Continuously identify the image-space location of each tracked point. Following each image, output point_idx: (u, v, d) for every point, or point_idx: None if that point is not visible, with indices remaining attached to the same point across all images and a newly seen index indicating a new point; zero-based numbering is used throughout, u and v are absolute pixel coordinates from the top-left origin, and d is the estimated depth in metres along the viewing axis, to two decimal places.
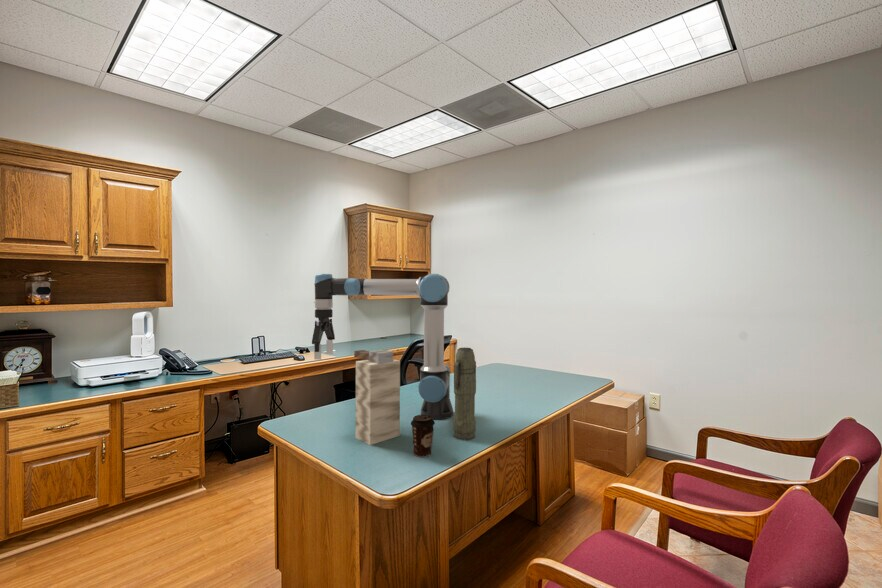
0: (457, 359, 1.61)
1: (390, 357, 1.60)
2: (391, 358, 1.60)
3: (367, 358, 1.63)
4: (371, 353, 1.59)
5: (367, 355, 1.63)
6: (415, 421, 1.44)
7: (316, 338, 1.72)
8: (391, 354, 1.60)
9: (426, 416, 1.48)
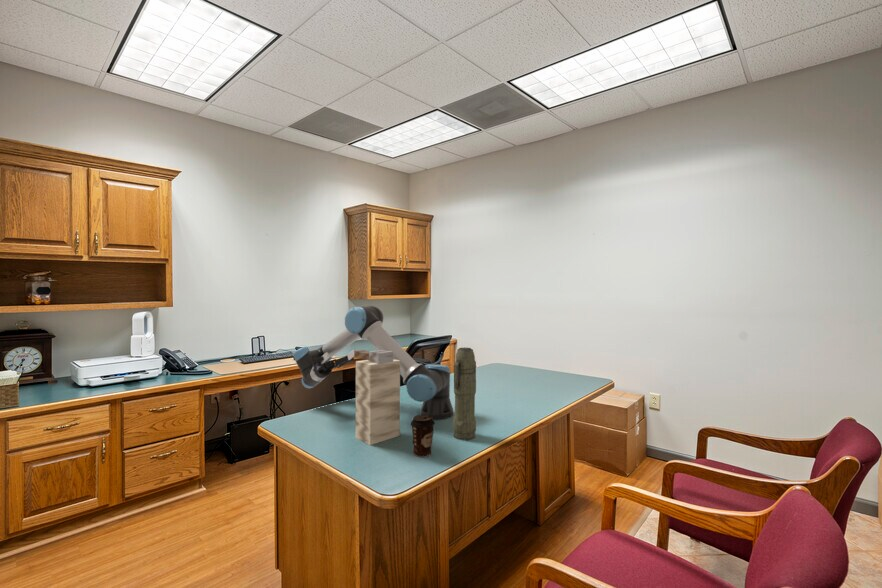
0: (457, 359, 1.61)
1: (390, 357, 1.60)
2: (391, 358, 1.60)
3: (367, 358, 1.63)
4: (371, 353, 1.59)
5: (367, 355, 1.63)
6: (415, 421, 1.43)
7: (312, 362, 1.80)
8: (391, 354, 1.60)
9: (426, 416, 1.48)
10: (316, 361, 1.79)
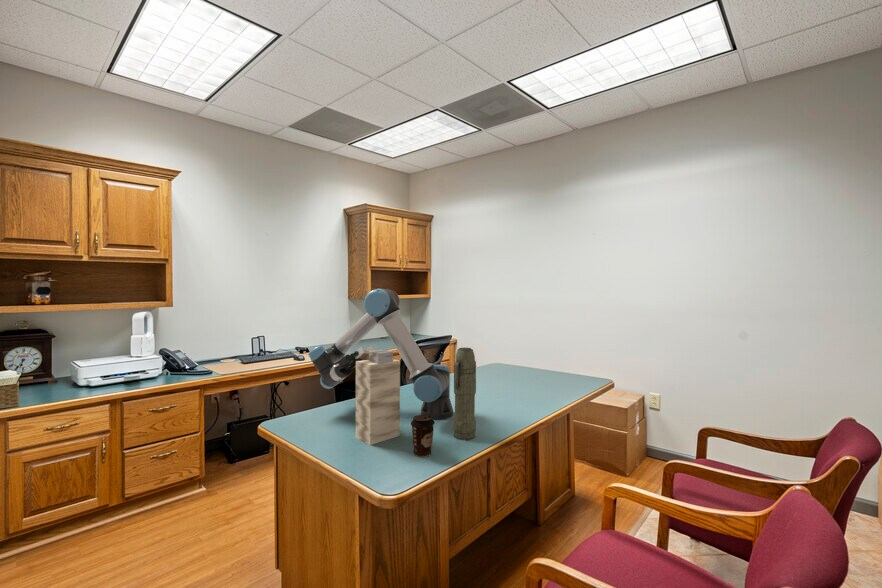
0: (457, 359, 1.61)
1: (390, 357, 1.60)
2: (391, 358, 1.60)
3: (367, 358, 1.63)
4: (371, 353, 1.59)
5: (367, 355, 1.63)
6: (415, 421, 1.43)
7: (345, 357, 1.68)
8: (391, 354, 1.60)
9: (426, 416, 1.48)
10: (350, 356, 1.68)
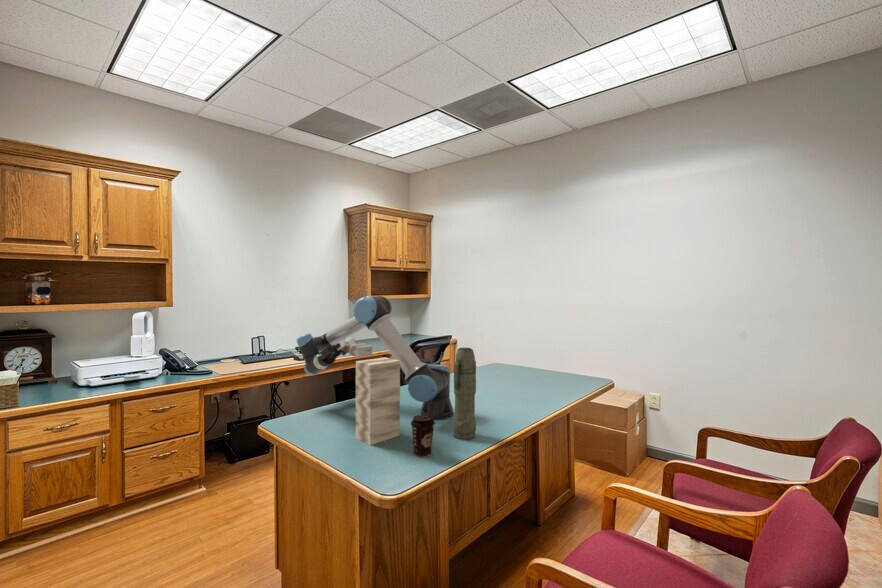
0: (457, 359, 1.61)
1: (369, 351, 1.69)
2: (370, 352, 1.69)
3: (348, 350, 1.73)
4: (351, 346, 1.68)
5: (348, 348, 1.73)
6: (415, 421, 1.43)
7: (327, 348, 1.78)
8: (370, 348, 1.69)
9: (426, 416, 1.48)
10: (332, 347, 1.77)
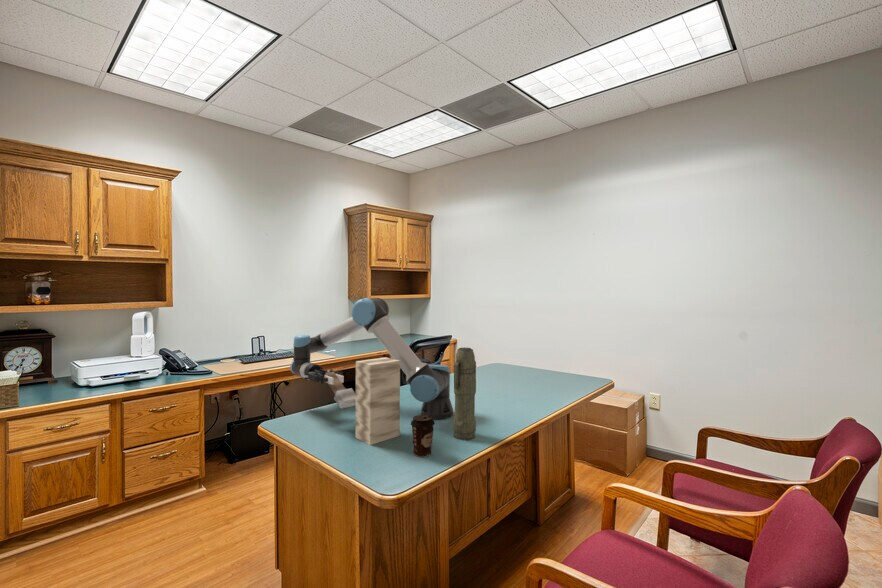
0: (457, 359, 1.61)
1: (354, 402, 1.67)
2: (355, 403, 1.68)
3: (334, 391, 1.70)
4: (337, 394, 1.65)
5: (334, 389, 1.70)
6: (415, 421, 1.44)
7: (314, 377, 1.74)
8: None
9: (426, 416, 1.48)
10: (320, 378, 1.74)
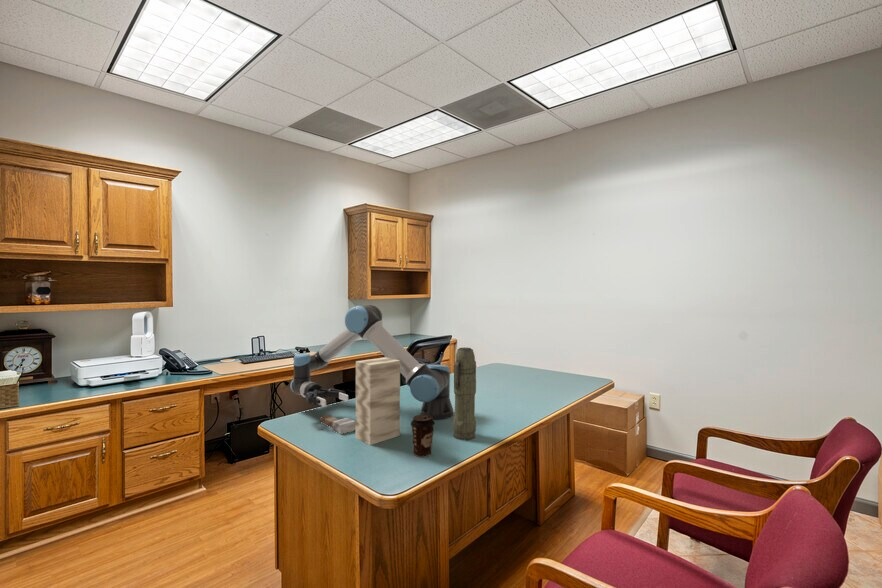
0: (457, 359, 1.61)
1: (353, 427, 1.68)
2: (353, 427, 1.69)
3: (331, 426, 1.72)
4: (334, 423, 1.67)
5: (331, 423, 1.72)
6: (415, 421, 1.44)
7: (307, 398, 1.74)
8: (353, 424, 1.69)
9: (426, 416, 1.48)
10: (312, 400, 1.73)
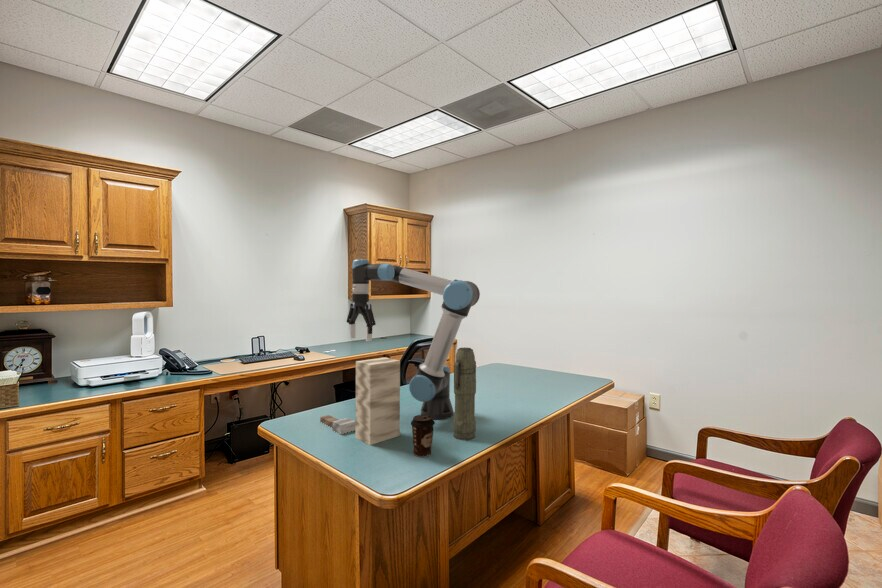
0: (457, 359, 1.61)
1: (353, 427, 1.68)
2: (353, 428, 1.69)
3: (331, 426, 1.72)
4: (334, 423, 1.67)
5: (331, 423, 1.72)
6: (415, 421, 1.44)
7: (373, 320, 1.82)
8: (353, 424, 1.69)
9: (426, 416, 1.48)
10: (371, 325, 1.82)
